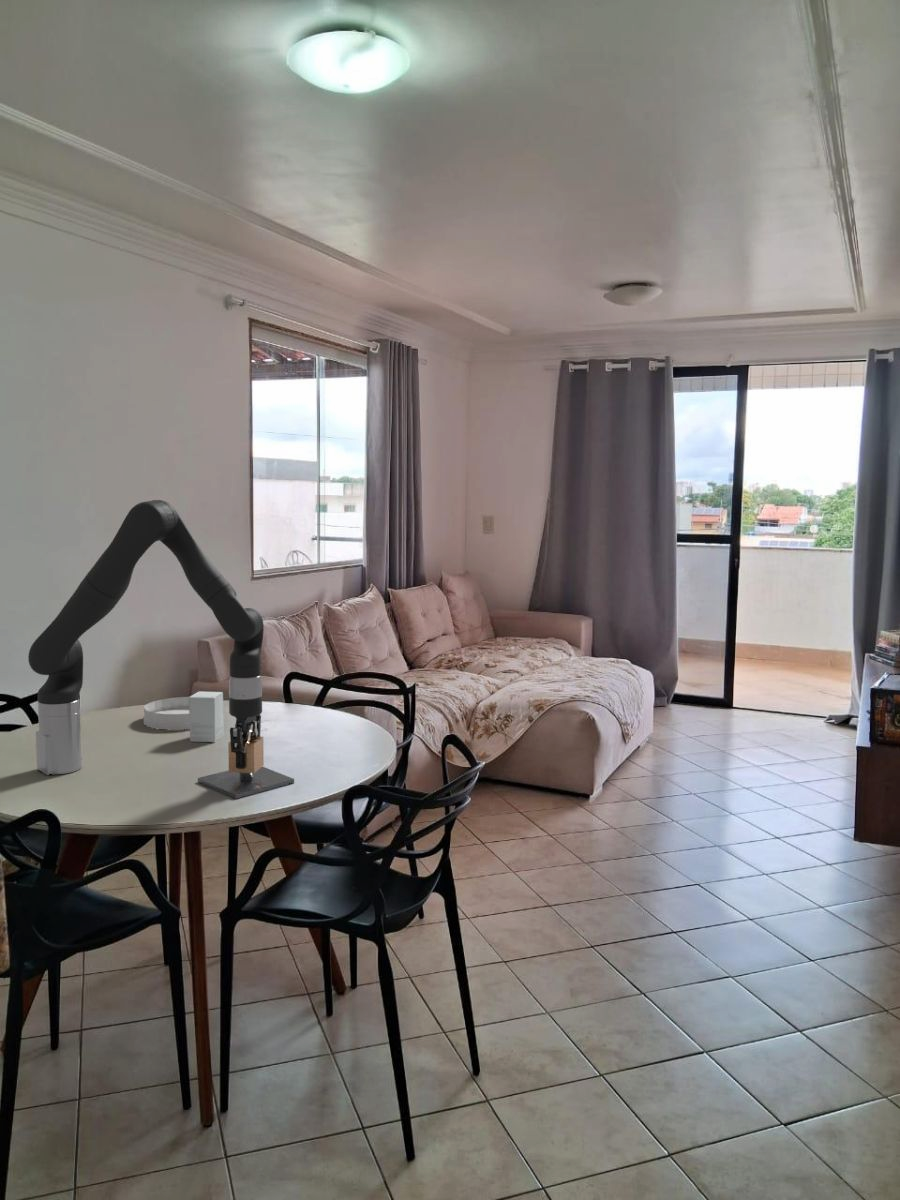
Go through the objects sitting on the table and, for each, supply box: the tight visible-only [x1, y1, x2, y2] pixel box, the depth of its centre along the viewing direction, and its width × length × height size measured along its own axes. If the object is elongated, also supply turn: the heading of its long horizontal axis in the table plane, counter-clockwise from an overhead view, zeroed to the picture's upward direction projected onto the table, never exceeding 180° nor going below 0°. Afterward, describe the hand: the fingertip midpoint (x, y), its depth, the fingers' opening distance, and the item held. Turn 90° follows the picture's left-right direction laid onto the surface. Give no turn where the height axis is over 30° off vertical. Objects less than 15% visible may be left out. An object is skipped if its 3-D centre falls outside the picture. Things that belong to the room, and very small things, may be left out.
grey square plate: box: [197, 766, 295, 800], centre depth 204 cm, size 16×16×8 cm
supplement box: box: [188, 690, 225, 743], centre depth 240 cm, size 7×7×13 cm
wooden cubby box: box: [227, 736, 265, 773], centre depth 204 cm, size 6×6×7 cm
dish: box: [143, 696, 190, 731], centre depth 259 cm, size 22×22×5 cm
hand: (246, 763), depth 204 cm, fingers closed on wooden cubby box, 6 cm apart
